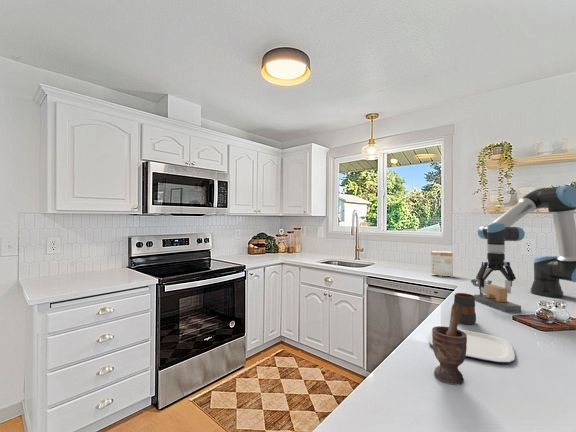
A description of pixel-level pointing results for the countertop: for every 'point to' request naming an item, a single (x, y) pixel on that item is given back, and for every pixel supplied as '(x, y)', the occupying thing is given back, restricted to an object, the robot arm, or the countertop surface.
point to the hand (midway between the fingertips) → (495, 293)
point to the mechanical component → (479, 284)
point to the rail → (498, 304)
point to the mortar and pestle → (450, 348)
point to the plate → (487, 347)
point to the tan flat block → (496, 293)
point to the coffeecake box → (442, 263)
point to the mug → (466, 308)
